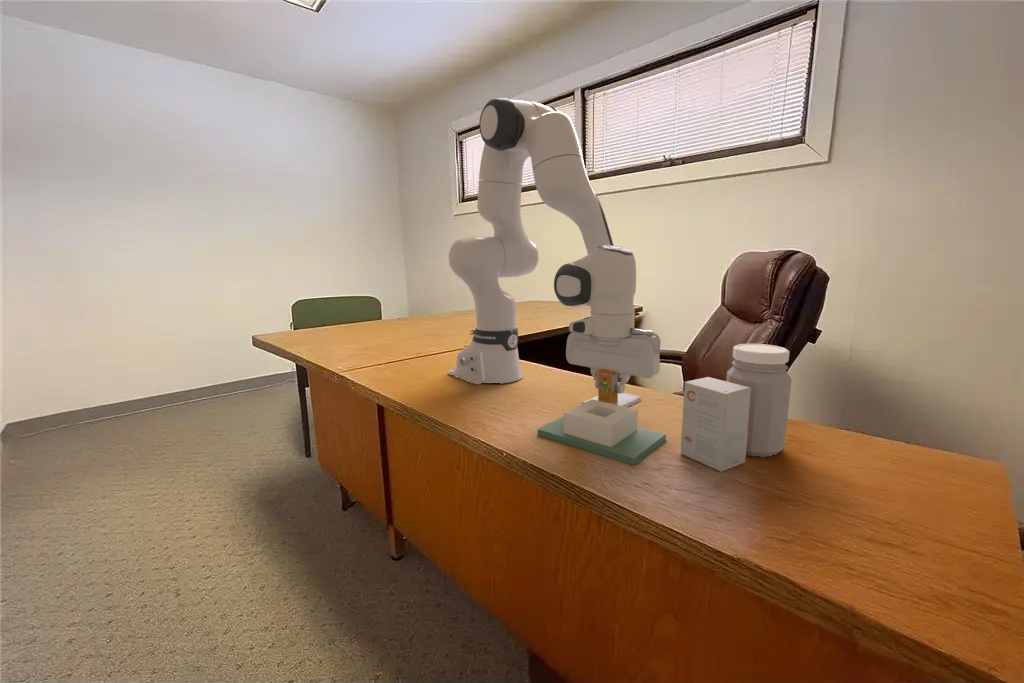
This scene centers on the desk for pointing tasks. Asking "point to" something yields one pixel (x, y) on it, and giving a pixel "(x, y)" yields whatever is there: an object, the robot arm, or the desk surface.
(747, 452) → the jar
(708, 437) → the small box
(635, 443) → the board
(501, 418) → the desk surface
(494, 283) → the robot arm
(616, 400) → the supplement box
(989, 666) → the desk surface
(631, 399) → the hard drive
